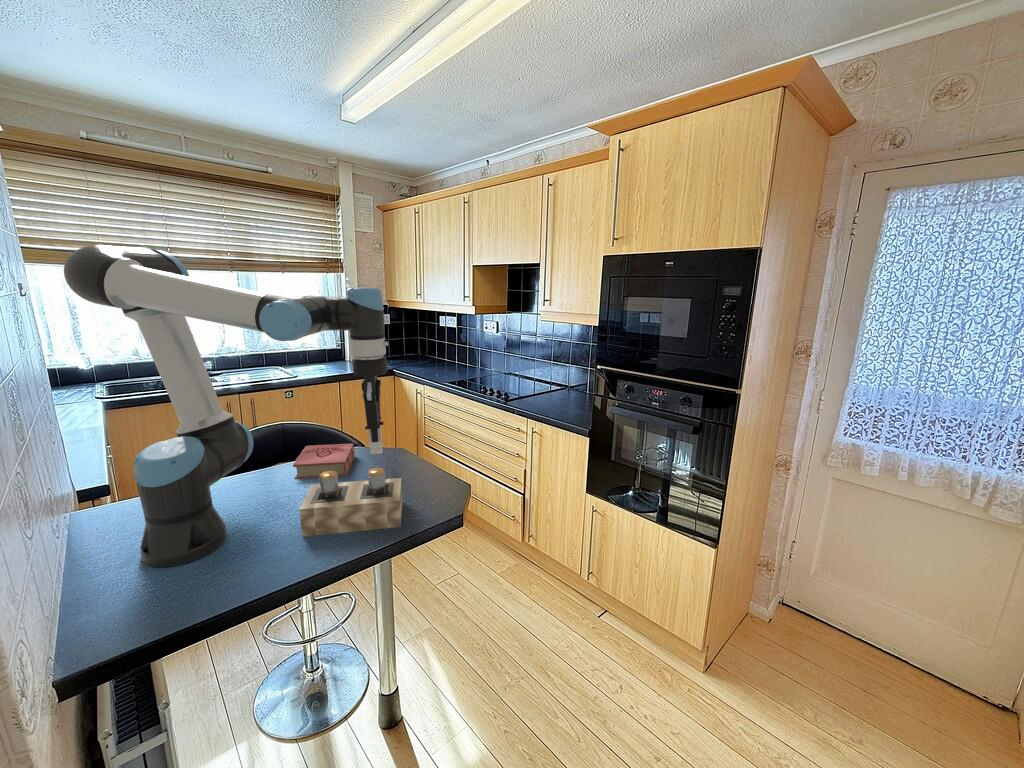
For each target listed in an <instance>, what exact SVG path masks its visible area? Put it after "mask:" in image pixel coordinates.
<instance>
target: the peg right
mask: <svg viewBox="0 0 1024 768" xmlns="http://www.w3.org/2000/svg"><path fill="white" fill-rule="evenodd" d="M385 471H386V470H385V468H383V467H372V468H370V469H369V470H367V480H368V483H369V496H372V495H384V494H386V482H385V479H386V472H385Z"/></svg>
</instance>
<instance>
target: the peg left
mask: <svg viewBox="0 0 1024 768" xmlns="http://www.w3.org/2000/svg"><path fill="white" fill-rule="evenodd" d="M338 477H339V476H338V474H337V472H335V471H326V472H323V473H321V474H320V476H319V478H318V479H319V484H320V488H321V498H322V500H324V499H336V498H340V497H339V486H338V483H339V478H338Z"/></svg>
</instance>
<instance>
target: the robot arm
mask: <svg viewBox="0 0 1024 768" xmlns="http://www.w3.org/2000/svg"><path fill="white" fill-rule="evenodd" d="M63 275H64V278H65V282H66V284H67V285H68V287H69V289H70V290H72V292H74V293H75V294H76V295H77V296H78V297H80V298H81V299H84V300H86V301H87V302H90V303H92V304H96V305H101V306H107V307H112V308H115V309H121V311H122V313H123V315H124V316H125V317H127V318H129V319H131V320H133V321H135V322H136V323H137V325H138V328H139V330H140V332H141V334H142V337H143V340H144V341H145V344H146V346H147V348H148V351H149V353H150V355H151V357H152V359H153V362H154V364H155V368H156V369H157V372H158V374H159V377H160V378H161V380H162V383H163V386H164V387H165V390H166V392H167V394H168V397H169V399H170V401H171V404H172V406H173V409H174V411H175V413H176V415H177V418H178V420H179V422H180V423H179V425H178V428H177V429H176V430H175V433H176V436H177V437H176V436H175V437H170V438H167V439H166V440H164V441H162V440H161V441H157V442H155V443H153V444H150V445H148V446H147V447H145V448H144V449H142V450H141V451H140V452H138V454H137V455H136V457H135V458H134V461H133V462H134V463H133V464H134V465H133V466H134V467H133V468H134V479H135V482H136V486H137V491H138V494H139V498H140V504H141V508H142V513H143V516H144V521H145V524H144V525H145V526H144V530H143V533H142V539H141V544H140V547H139V549H140V550H139V551H140V552H139V553H140V557H141V561H142V562H143V563H144V565H147V566H149V567H152V568H168V567H175V566H180V565H183V564H188V563H191V562H193V561H196V560H198V559H201V558H203V557H206V556H207V555H209V554H211V553H212V552H214V551H216V550H217V549H218V548H220V547H221V546H222V544H223V543H225V541H226V539H227V536H228V532H227V525H226V523H225V522H224V520H223V519H222V517H221V515H220V514H219V513H218V511H217V509H216V508H215V507H214V504H213V499H212V493H211V486H212V485H214V484H215V483H217V482H218V481H220V480H222V479H223V478H224V477H225V476H227V475H228V474H231V473H232V472H233V471H235V470H237V469H238V468H240V467H241V466H242V465H243V464H244V463H245V462H246V461H247V460H248V458H250V456H251V454H252V452H253V449H254V438H253V434H252V433H251V431H250V429H249V428H248V427H247V426H246V425H243V424H242V422H240V421H237V420H235V418H234V415H233V413H231V412H228V411H226V410H224V409H223V407H222V406H221V403H220V400H219V397H218V395H217V392H216V390H215V387H214V386H213V383H212V380H211V378H210V375H209V373H208V370H207V368H206V365H205V363H204V360H203V359H202V356H201V353H200V351H199V347H198V345H197V343H196V341H195V338H194V336H193V334H192V330H191V328H190V325H189V323H188V321H187V317H189V318H193V319H197V320H203V321H207V322H212V323H215V324H221V325H226V326H231V327H232V326H233V327H236V328H241V329H245V330H246V329H247V330H251V331H255V332H261V333H265V334H266V335H267V336H268V337H269V338H271V339H272V340H275V341H277V342H278V341H279V342H290V341H291V342H292V341H297V340H299V339H302V338H304V337H307V336H310V335H311V336H312V335H314V334H317V333H321V332H326V331H342V332H343V331H349V342H350V352H351V353H350V355H351V356H352V357H353V358H352V359H351V361H352V373H353V375H354V376H358V377H363V378H364V379H362V382H361V390H362V397H363V403H364V411H365V418H366V425H365V427H364V430H368V441H369V451H370V452H369V453H370V455H380V454H383V451H384V450H383V440H382V438H383V437H382V427H381V426H383V425H384V421H381V419H382V416H381V386H382V382H381V379H378V376H382V375H385V374H386V373H387V372H388V361H387V359H388V358H387V357H386V356H385V355H386V353H387V348H386V347H388V346H389V342H388V341H386V335H385V333H386V332H385V312H384V310H385V307H384V304H383V295H382V291H381V289H379V288H378V287H367V286H366V287H348V288H347V289H346V291H345V293H346V294H345V296H326V295H325V296H322V295H321V296H318V295H303V296H296V297H294V298H288V297H284V296H280V295H276V294H270V293H265V292H261V291H256V290H251V289H247V288H242V287H238V286H233V285H232V286H231V285H228V284H224V283H220V282H219V283H218V282H215V281H214V282H213V281H210V280H205V279H200V278H194V277H190V274H189V272H188V270H187V268H186V266H185V265H184V264H183V263H182V262H181V261H180V259H178V258H177V257H175V256H174V255H172V254H170V253H169V252H166V251H163V250H160V249H154V248H150V247H134V246H118V245H116V246H115V245H104V244H94V245H86V246H83V247H81V248H78V249H76V250H74V252H72V253H71V254H70V255H69V256H68V257H67V258H66V260H65V263H64V266H63Z"/></svg>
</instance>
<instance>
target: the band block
mask: <svg viewBox="0 0 1024 768" xmlns="http://www.w3.org/2000/svg"><path fill="white" fill-rule="evenodd" d="M385 482H386V494H384V495H372V496H369V483H368V479H367V480H357V481H355V480H354V481H345V482H338V486H339V497H340V498H336V499H324V500H322V498H321V488H320V483H317V484H314V483H313V484H311V485H310V487H309V489H308V492H307V493H306V495H305V497H304V499H303V501H302V503H301V504H300V507H299V517H300V519H299V520H300V526H301V536H302V538H303V537H311V536H313V537H314V536H321V535H331V534H333V535H334V534H342V533H353V532H361V531H372V530H384V529H392V528H394V529H395V528H401V527H402V514H403V489H402V488H403V487H402V477H395V478H385Z"/></svg>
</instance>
